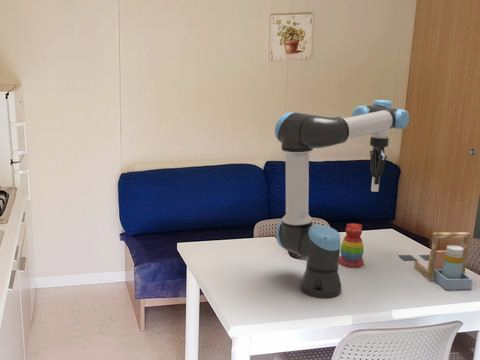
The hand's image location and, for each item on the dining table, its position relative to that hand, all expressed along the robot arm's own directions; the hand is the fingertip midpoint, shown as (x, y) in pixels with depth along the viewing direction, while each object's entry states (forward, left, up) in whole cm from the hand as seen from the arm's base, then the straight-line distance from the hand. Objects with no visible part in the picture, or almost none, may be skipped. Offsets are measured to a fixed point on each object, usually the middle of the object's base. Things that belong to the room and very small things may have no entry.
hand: (374, 191), depth 236 cm
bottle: (+9, -37, -30) cm, 49 cm away
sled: (+10, -35, -29) cm, 46 cm away
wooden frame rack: (+13, -28, -29) cm, 43 cm away
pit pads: (+19, -11, -29) cm, 37 cm away
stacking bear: (-14, -5, -30) cm, 33 cm away
